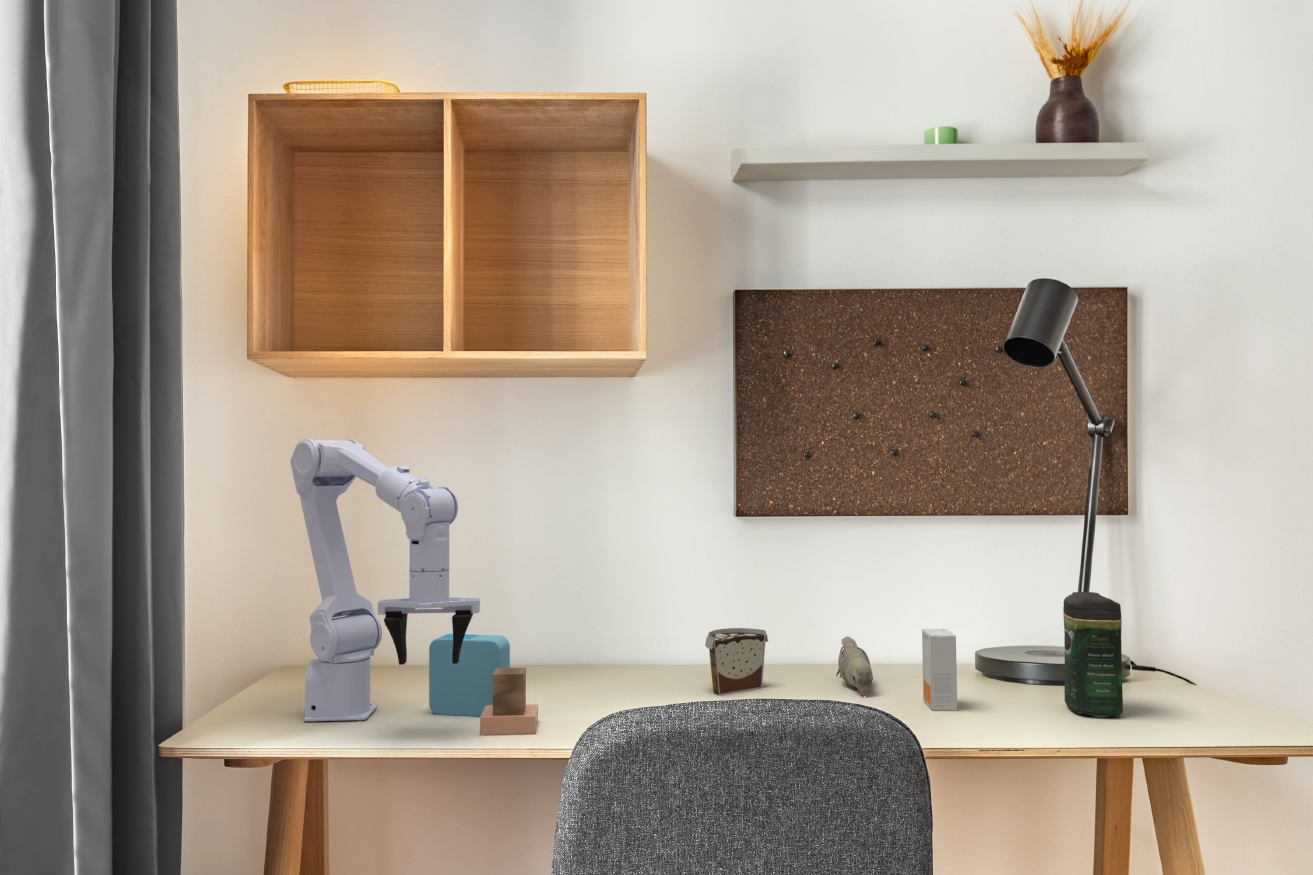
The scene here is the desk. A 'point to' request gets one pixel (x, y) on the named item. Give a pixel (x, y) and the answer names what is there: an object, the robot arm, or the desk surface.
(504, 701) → the walnut block
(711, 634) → the food container
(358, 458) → the robot arm
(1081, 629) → the coffee jar
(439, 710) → the teal rounded block
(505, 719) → the terracotta plinth
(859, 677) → the decorative bird
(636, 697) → the desk surface
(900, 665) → the desk surface
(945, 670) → the skincare box
